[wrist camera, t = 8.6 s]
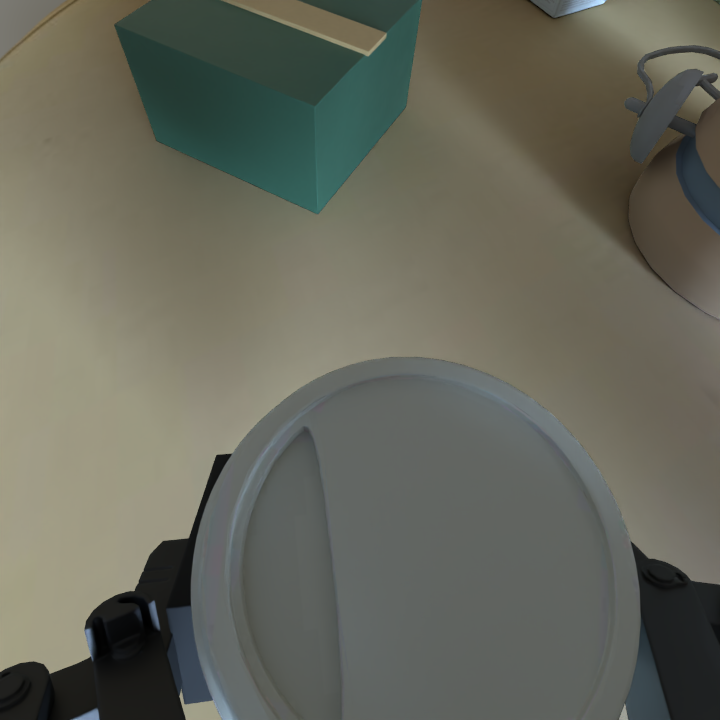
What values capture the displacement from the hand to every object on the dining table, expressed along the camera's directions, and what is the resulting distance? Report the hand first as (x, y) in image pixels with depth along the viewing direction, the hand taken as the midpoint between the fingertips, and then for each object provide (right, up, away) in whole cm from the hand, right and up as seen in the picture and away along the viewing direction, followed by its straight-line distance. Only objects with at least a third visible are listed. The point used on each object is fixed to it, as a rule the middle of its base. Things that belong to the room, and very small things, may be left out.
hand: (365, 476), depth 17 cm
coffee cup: (0, -5, +2) cm, 5 cm away
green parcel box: (-6, +23, +20) cm, 31 cm away
